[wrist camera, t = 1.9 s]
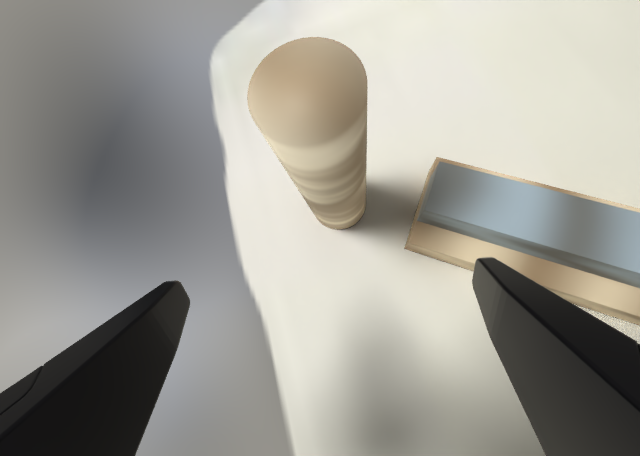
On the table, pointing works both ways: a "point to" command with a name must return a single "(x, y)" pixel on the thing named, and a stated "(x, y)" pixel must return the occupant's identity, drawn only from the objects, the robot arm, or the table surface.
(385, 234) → the table surface
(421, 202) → the ridge rail
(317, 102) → the maple post
